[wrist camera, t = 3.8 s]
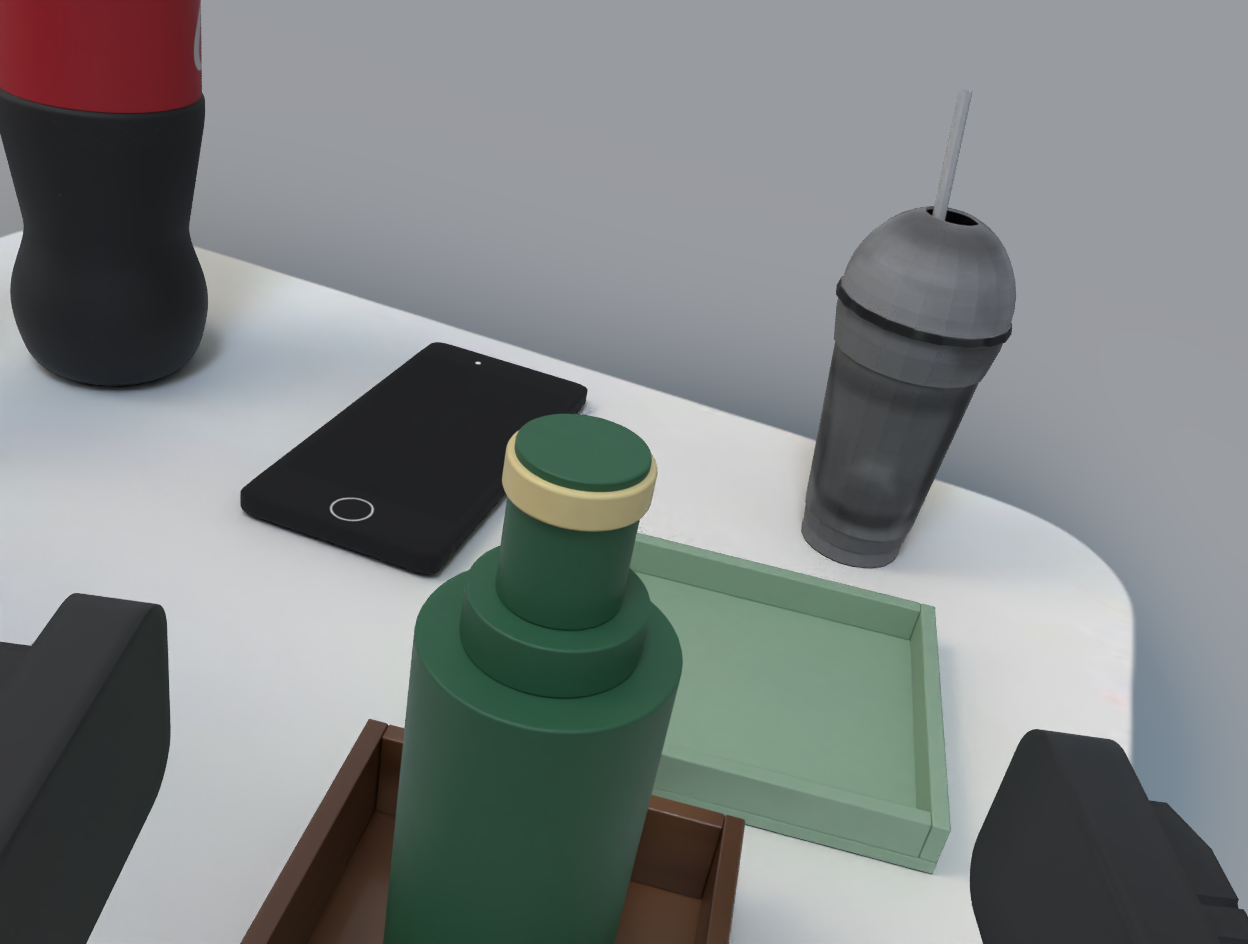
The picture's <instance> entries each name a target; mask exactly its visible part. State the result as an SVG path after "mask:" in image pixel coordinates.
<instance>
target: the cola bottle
mask: <svg viewBox="0 0 1248 944" xmlns="http://www.w3.org/2000/svg"><path fill="white" fill-rule="evenodd" d="M201 69H202V68H201V0H0V134H1V138H2V142H3V145H4V149H5V153H6V157H7V160H8V164H9V168H10V172H11V176H12V179H13V183H14V187H15V191H16V194H17V198H18V202H19V206H20V209H21V213H22V217H23V222H24V231H23V237H22V241H21V245H20V248H19V251H18V254H17V258H16V261H15V264H14V268H13V272H12V278H11V288H10V294H11V304H12V309H13V314H14V317H15V321H16V324H17V327H18V329H19V332H20V334H21V337H22V339H23V341H24V343H25V345H26V347H27V349H28V350H29V352H30V353H31V355H32V356H33V357H34V358H35V359H36V360H37V361H38V362H39V363H40V364H41V365H42V366H44V367H45V368H46V369H48V370H50V371H51V372H53V373H55V374H57V375H60V376H62V377H65V378H67V379H71V380H74V381H78V382H82V383H88V384H95V385H107V386H120V385H133V384H140V383H145V382H149V381H153V380H157V379H160V378H163V377H165V376H167V375H170V374H172V373H174V372H175V371H177V370H179V369H180V368H182V367H183V366H184V365H185V364H186V363H187V362H188V361H189V360H190V359H191V358H192V357H193V355H194V354H195V352H196V350H197V348H198V346H199V343H200V341H201V338H202V335H203V331H204V327H205V323H206V317H207V310H208V293H207V286H206V281H205V277H204V274H203V271H202V268H201V266H200V263H199V260H198V258H197V255H196V253H195V250H194V247H193V245H192V242H191V238H190V233H189V222H190V215H191V208H192V201H193V195H194V188H195V182H196V175H197V168H198V161H199V155H200V148H201V142H202V135H203V128H204V120H205V98H204V95H203V93H202V75H201V74H202V73H201V72H202V70H201Z"/></svg>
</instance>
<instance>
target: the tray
mask: <svg viewBox="0 0 1248 944" xmlns="http://www.w3.org/2000/svg"><path fill="white" fill-rule="evenodd" d="M630 568H631V569H632V570H633V571H634V572H635V573H636V574H637V575H638V576H639V578H640V579H641V580H642V582H643V583H644V585H645V587H646V589H647V591H648V593H649V597H650V601H651V602H652V603H653V604H655V605H656V606H657V607H658V608H659V609H660V610H661V612H662V613H663V614H664V615H665V616H666V617H667V619H668V620H669V622H670V623H671V625H672V626H673V628H674V630H675V632H676V634H677V636H678V638H679V642H680V646H681V649H682V657H683V666H682V674H681V678H680V682H679V686H678V690H677V694H676V698H675V702H674V706H673V710H672V714H671V718H670V722H669V726H668V730H667V734H666V738H665V742H664V746H663V750H662V754H661V758H660V762H659V766H658V770H657V774H656V778H655V782H654V786H653V790H652V795H656V796H659V797H663V798H667V799H671V800H674V801H678V802H682V803H686V804H689V805H693V806H697V807H701V808H704V809H708V810H712V811H716V812H719V813H723V814H724V817H725V816H726V815H731V816H734V817H738V818H742V819H744V820H745V824H747V825H751V826H755V827H758V828H762V829H766V830H770V831H773V832H777V833H781V834H785V835H788V836H792V837H796V838H800V839H803V840H807V841H811V842H815V843H818V844H822V845H826V846H830V847H833V848H837V849H841V850H845V851H848V852H852V853H856V854H860V855H863V856H867V857H871V858H875V859H878V860H882V861H886V862H890V863H893V864H897V865H901V866H905V867H908V868H912V869H916V870H920V871H923V872H927V873H931V874H932V873H933V871H934V868H935V866H936V864H937V863H936V862H937V861H938V859H939V856H940V854H941V852H942V849H943V847H944V845H945V842H946V840H947V838H948V836H949V833H950V831H951V827H950V813H949V799H948V785H947V771H946V757H945V743H944V729H943V715H942V701H941V687H940V673H939V659H938V645H937V631H936V617H935V607H933V606H929V605H925V604H921V605H920V603H918V602H914V601H910V600H906V599H902V598H898V597H893V596H889V595H885V594H881V593H877V592H873V591H869V590H865V589H861V588H857V587H853V586H849V585H845V584H841V583H837V582H833V581H829V580H825V579H821V578H817V577H813V576H809V575H805V574H801V573H797V572H793V571H789V570H785V569H781V568H777V567H773V566H769V565H765V564H761V563H757V562H753V561H749V560H745V559H741V558H737V557H733V556H729V555H725V554H721V553H717V552H713V551H709V550H705V549H700V548H696V547H692V546H688V545H684V544H680V543H676V542H672V541H668V540H664V539H660V538H656V537H652V536H648V535H644V534H640V533H637V534H636V539H635V544H634V549H633V554H632V558H631V563H630Z"/></svg>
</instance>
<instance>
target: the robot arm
mask: <svg viewBox="0 0 1248 944" xmlns="http://www.w3.org/2000/svg"><path fill="white" fill-rule="evenodd" d="M169 746H170V700H169V671H168V641H167V620H166V615H165V612H164V609H163V608H162V606H161V605H159V604H152V603H145V602H138V601H131V600H123V599H116V598H109V597H102V596H95V595H87V594H80V593H74V594H72V595H70V596H69V597H68V598H67V599H65V601H64V602H63V603H62V604H61V606H60V607H59V608H58V610H57V611H56V613H55V614H54V615H53V617H52V618H51V620H50V621H49V622H48V624H47V625H46V627H45V628H44V629H43V631H42V632H41V634H40V635H39V636H38V638H37V639H36V641H35V642H34V643H33V645H32V646H27V645H20V644H13V643H5V642H0V944H86V943H87V941H88V939H89V937H90V934H91V932H92V930H93V928H94V926H95V924H96V922H97V920H98V918H99V916H100V914H101V912H102V910H103V908H104V906H105V903H106V901H107V899H108V897H109V895H110V893H111V891H112V889H113V887H114V885H115V883H116V881H117V879H118V877H119V875H120V872H121V870H122V868H123V866H124V864H125V862H126V860H127V858H128V856H129V854H130V852H131V850H132V848H133V846H134V844H135V841H136V839H137V837H138V835H139V833H140V831H141V829H142V827H143V825H144V823H145V821H146V819H147V817H148V815H149V813H150V810H151V808H152V806H153V804H154V802H155V800H156V797H157V795H158V792H159V789H160V786H161V783H162V780H163V776H164V773H165V768H166V764H167V759H168V753H169ZM970 893H971V901H972V906H973V910H974V914H975V918H976V921H977V924H978V928H979V931H980V935H981V938H982V941H983V944H1248V916H1247V914H1246V912H1245V911H1244V910H1243V909H1238V904H1237V903H1238V900H1239V899H1238V898H1237V896H1236V894H1235V892H1234V890H1233V888H1232V887H1231V885H1230V883H1229V881H1228V879H1227V877H1226V875H1225V874H1224V872H1223V870H1222V868H1221V866H1220V864H1219V862H1218V860H1217V859H1216V857H1215V855H1214V853H1213V851H1212V849H1211V848H1210V847H1209V846H1208V845H1207V844H1206V843H1205V842H1204V841H1203V840H1202V839H1201V838H1200V837H1199V836H1198V835H1197V834H1196V833H1195V832H1194V831H1193V830H1192V828H1191V827H1190V826H1189V825H1188V824H1187V823H1186V822H1185V821H1184V820H1183V819H1182V818H1181V817H1180V816H1179V815H1178V814H1177V813H1176V812H1175V811H1174V810H1173V809H1172V808H1171V807H1170V806H1169V805H1168V804H1167V803H1163V802H1156V801H1149V800H1148V798H1147V796H1146V794H1145V792H1144V790H1143V788H1142V786H1141V784H1140V782H1139V780H1138V778H1137V776H1136V774H1135V772H1134V770H1133V768H1132V766H1131V764H1130V762H1129V760H1128V758H1127V756H1126V754H1125V752H1124V750H1123V749H1122V748H1121V746H1120V745H1119V744H1118V743H1116V742H1115V741H1113V740H1110V739H1104V738H1097V737H1089V736H1082V735H1075V734H1068V733H1061V732H1053V731H1046V730H1039V729H1034V730H1031V731H1029V732H1027V733H1026V734H1025V735H1024V737H1023V738H1022V739H1021V741H1020V743H1019V745H1018V747H1017V749H1016V751H1015V753H1014V756H1013V758H1012V760H1011V762H1010V765H1009V767H1008V769H1007V771H1006V774H1005V776H1004V778H1003V780H1002V783H1001V785H1000V787H999V790H998V792H997V794H996V796H995V799H994V801H993V803H992V805H991V808H990V810H989V812H988V814H987V817H986V819H985V821H984V823H983V826H982V828H981V830H980V832H979V835H978V837H977V840H976V842H975V845H974V849H973V853H972V859H971V867H970Z"/></svg>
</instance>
